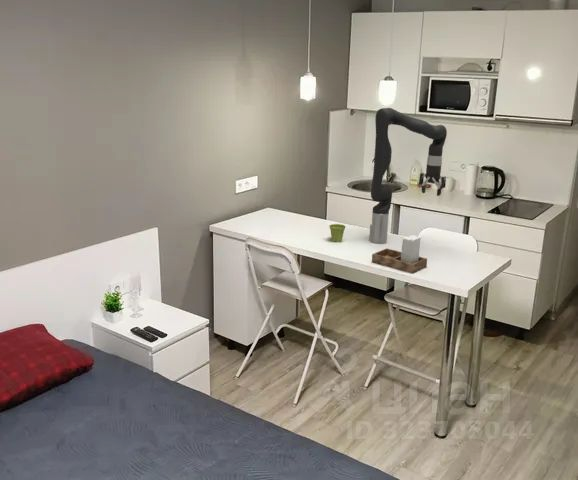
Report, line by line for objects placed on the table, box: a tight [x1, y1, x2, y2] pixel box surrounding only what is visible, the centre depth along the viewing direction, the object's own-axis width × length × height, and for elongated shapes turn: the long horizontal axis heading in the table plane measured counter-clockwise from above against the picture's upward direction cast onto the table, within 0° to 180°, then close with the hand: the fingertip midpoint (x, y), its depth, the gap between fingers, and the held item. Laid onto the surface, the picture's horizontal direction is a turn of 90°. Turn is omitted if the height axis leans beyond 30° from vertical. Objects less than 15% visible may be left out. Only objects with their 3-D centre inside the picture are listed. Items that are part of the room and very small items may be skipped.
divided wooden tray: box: [371, 247, 428, 274], centre depth 313 cm, size 24×14×4 cm, turn 49°
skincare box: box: [401, 234, 422, 264], centre depth 308 cm, size 8×6×15 cm
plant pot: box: [328, 223, 346, 243], centre depth 350 cm, size 9×9×9 cm
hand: (430, 194), depth 324 cm, fingers open, 8 cm apart
